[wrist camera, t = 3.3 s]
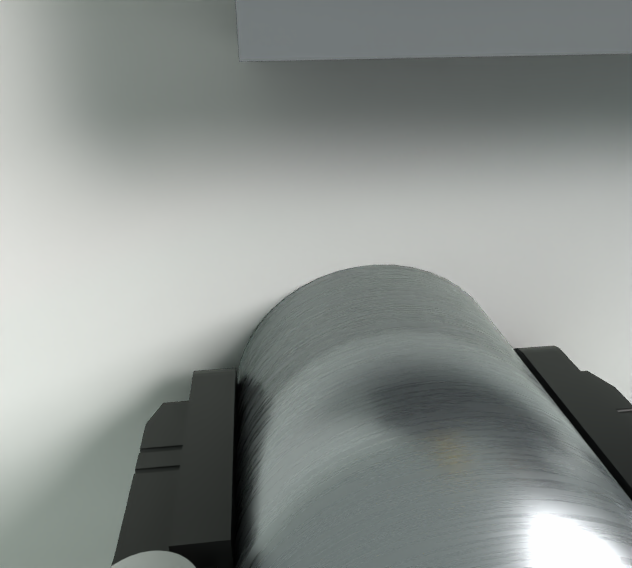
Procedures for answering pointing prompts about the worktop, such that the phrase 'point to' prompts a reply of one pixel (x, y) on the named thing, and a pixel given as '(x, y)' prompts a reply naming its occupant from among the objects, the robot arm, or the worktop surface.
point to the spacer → (409, 439)
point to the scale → (430, 28)
